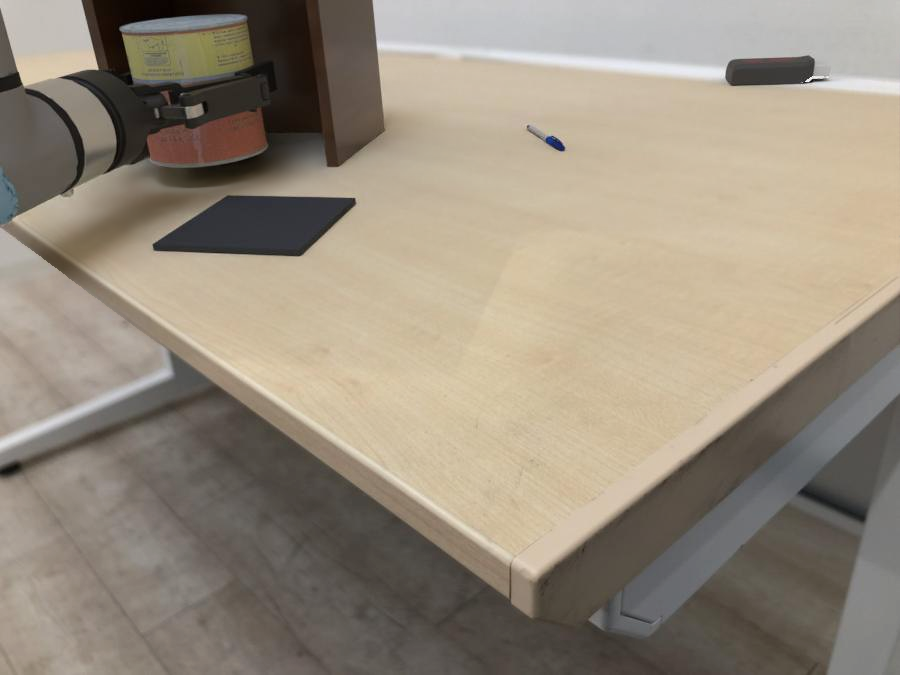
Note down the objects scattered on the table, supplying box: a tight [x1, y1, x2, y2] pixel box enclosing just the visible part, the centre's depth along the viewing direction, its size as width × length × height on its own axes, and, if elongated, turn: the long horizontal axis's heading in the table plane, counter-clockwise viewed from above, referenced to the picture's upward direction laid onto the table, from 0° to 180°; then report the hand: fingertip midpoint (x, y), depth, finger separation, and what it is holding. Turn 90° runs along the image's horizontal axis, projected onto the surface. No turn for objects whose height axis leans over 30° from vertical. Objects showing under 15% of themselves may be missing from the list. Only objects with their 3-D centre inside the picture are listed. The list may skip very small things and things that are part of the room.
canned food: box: [120, 14, 269, 169], centre depth 76 cm, size 11×11×12 cm
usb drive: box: [724, 55, 832, 86], centre depth 103 cm, size 5×12×3 cm, turn 81°
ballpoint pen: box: [526, 124, 566, 152], centre depth 84 cm, size 10×1×1 cm, turn 15°
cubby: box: [80, 0, 386, 167], centre depth 83 cm, size 24×15×22 cm, turn 76°
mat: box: [151, 194, 357, 257], centre depth 64 cm, size 12×12×1 cm
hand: (216, 76), depth 79 cm, fingers closed on canned food, 11 cm apart
